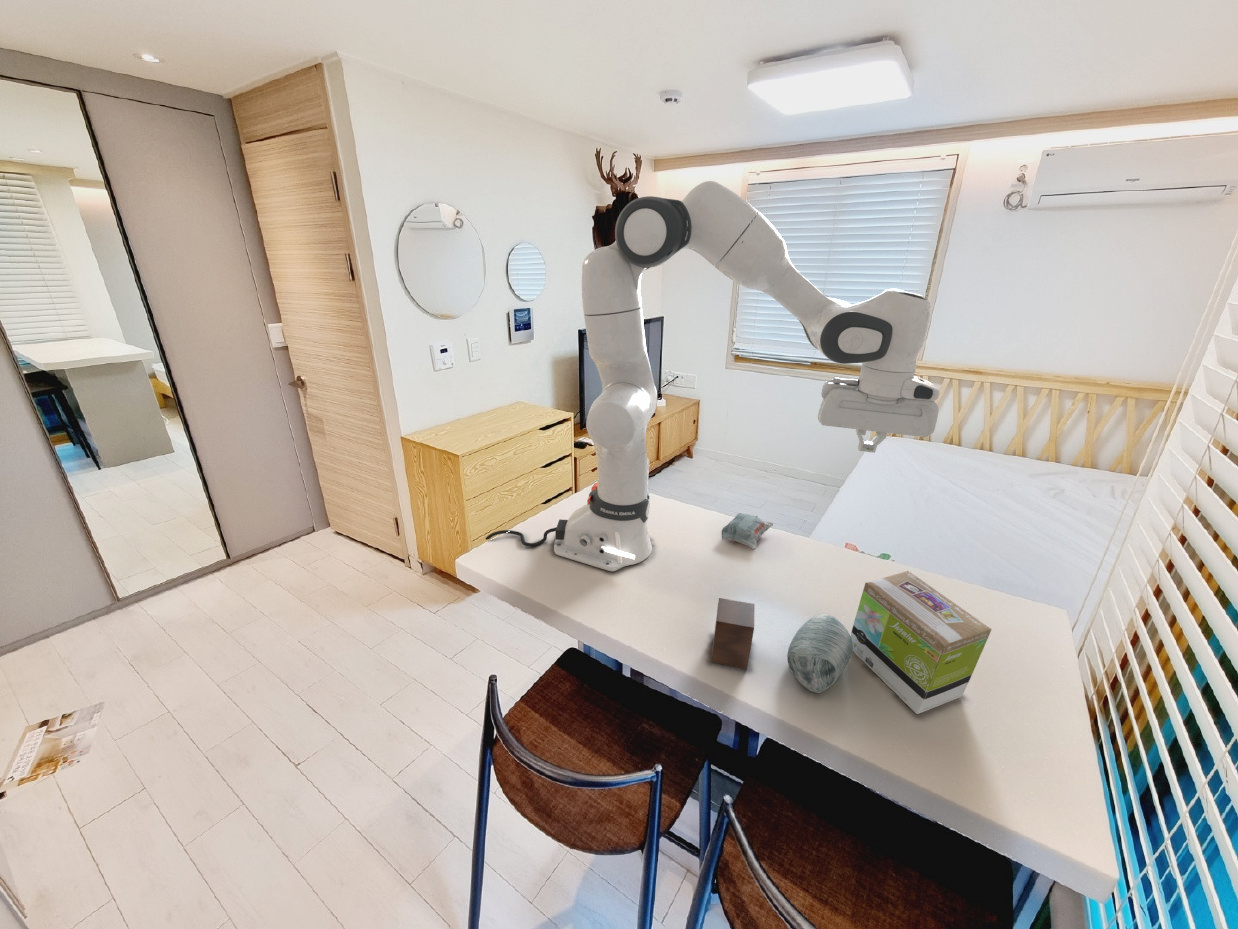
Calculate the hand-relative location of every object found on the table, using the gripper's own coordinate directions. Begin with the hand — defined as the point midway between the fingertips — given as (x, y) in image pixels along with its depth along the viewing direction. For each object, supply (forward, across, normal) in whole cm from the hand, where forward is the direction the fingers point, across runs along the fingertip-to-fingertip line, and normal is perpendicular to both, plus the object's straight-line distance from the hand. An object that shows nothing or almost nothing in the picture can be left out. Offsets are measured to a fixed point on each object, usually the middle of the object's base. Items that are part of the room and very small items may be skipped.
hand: (866, 450), depth 99 cm
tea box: (+28, +7, -28) cm, 40 cm away
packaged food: (+28, -19, +6) cm, 35 cm away
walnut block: (+28, -21, -32) cm, 47 cm away
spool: (+28, -7, -31) cm, 43 cm away
